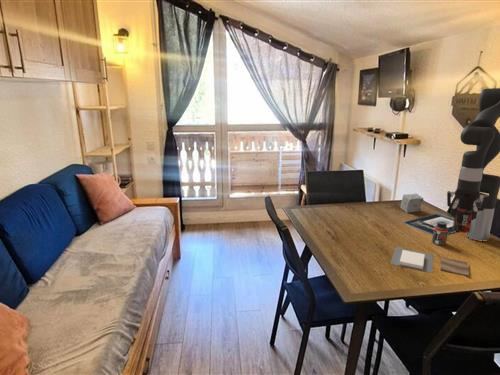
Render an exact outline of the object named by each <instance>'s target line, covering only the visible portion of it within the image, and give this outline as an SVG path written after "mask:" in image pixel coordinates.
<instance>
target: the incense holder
mask: <svg viewBox="0 0 500 375" xmlns="http://www.w3.org/2000/svg"><path fill="white" fill-rule="evenodd" d="M422 202H424V197H422V196H421V195H419V194H417V193H410V194H407V193H406V194H403V195H402V199H401V203H400V209H402V210H403V211H404V212H405V213H406V214H409V213H419V211H420V212H421V210H422V208H421V207H422Z"/></svg>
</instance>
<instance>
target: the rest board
mask: <svg viewBox="0 0 500 375" xmlns="http://www.w3.org/2000/svg"><path fill="white" fill-rule="evenodd" d="M468 265H469V264H468V262H467V261H464V260H463V261H462V260H458V259H457V260H456V259H453V258H452V259H451V258H448V257H442V256H441V257H440V271H441V272H447V273H451V274H456V275H460V276H464V277H465V278H469V277H470V272H469V271H470V270H469V266H468Z"/></svg>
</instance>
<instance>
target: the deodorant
mask: <svg viewBox="0 0 500 375" xmlns="http://www.w3.org/2000/svg"><path fill="white" fill-rule="evenodd" d="M456 199H457V198H456ZM458 199H459V203H458V205H457V207H456V213H455V217H453V218H454V223H453V230H455V231H458V232H459V233H466V234H467V233H468V232H469V231H470V225H471V220H472V215H473V208H474V206H473V204H474V202H475V196H472V197H470V196H467V195H465V196H462V195H459V197H458ZM458 199H457V200H458Z"/></svg>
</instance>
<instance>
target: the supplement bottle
mask: <svg viewBox="0 0 500 375" xmlns="http://www.w3.org/2000/svg"><path fill="white" fill-rule="evenodd" d="M448 235H449V234H448V228H447V223H446V222H442V221H438V223H437V225H436V226H435V227H434V233H433V235H432V240H431V243H432V244H433V245H435V246H440V247H443V246H446V244H447V238H448Z"/></svg>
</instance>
